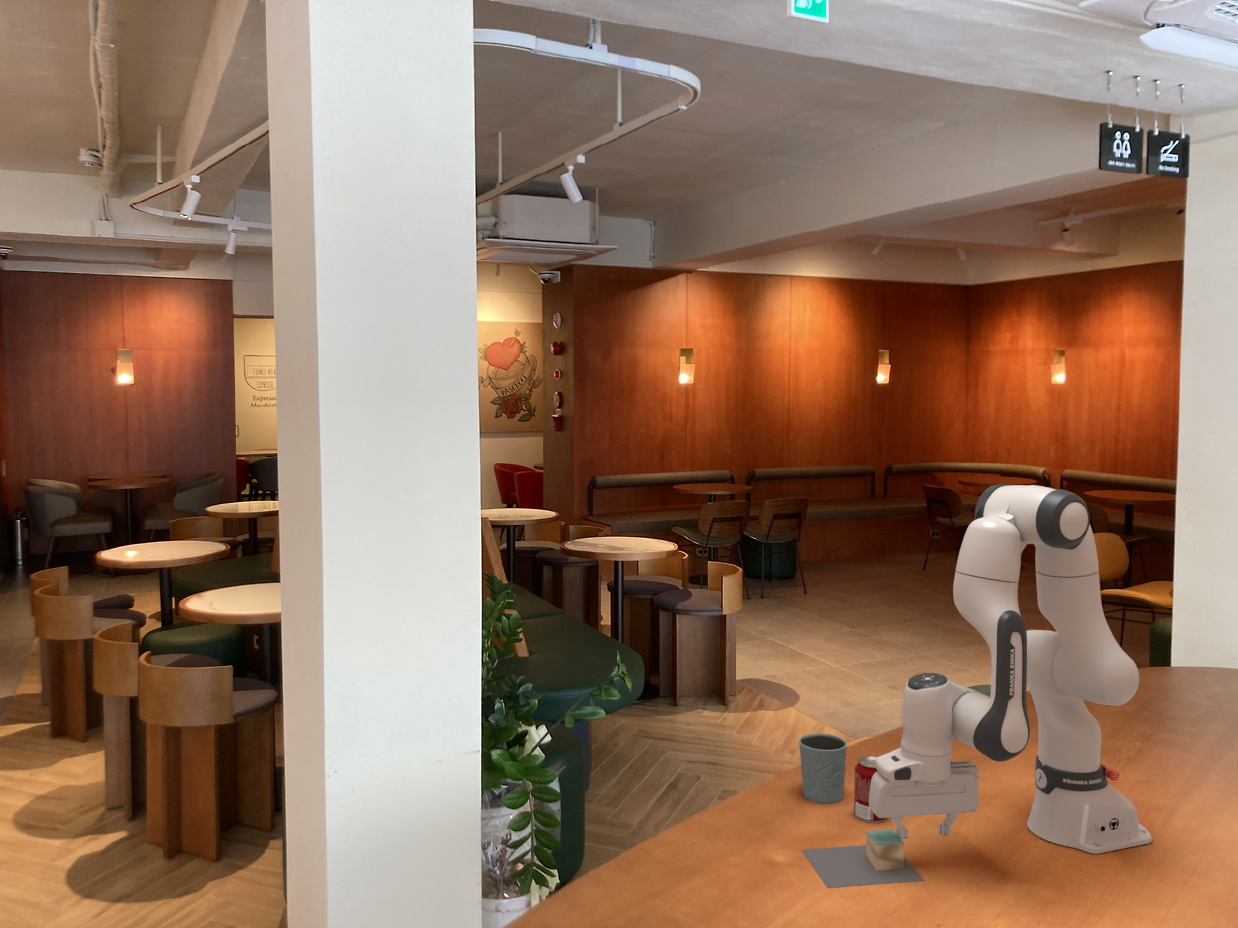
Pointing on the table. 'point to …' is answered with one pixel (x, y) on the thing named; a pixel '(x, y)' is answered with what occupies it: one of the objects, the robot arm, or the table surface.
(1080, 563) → the robot arm
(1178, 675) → the table surface
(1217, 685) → the table surface
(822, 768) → the grey blue cup
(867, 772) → the soda can
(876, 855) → the maple cube
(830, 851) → the rubber mat
